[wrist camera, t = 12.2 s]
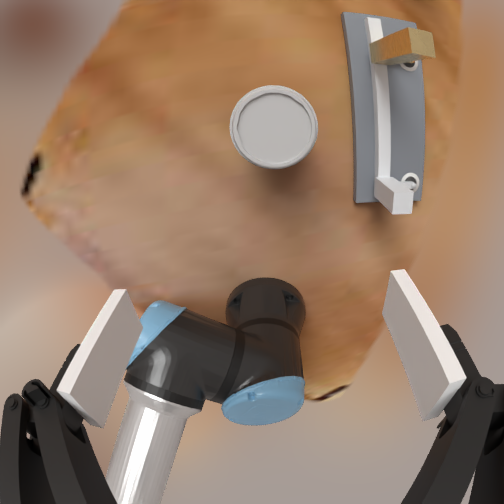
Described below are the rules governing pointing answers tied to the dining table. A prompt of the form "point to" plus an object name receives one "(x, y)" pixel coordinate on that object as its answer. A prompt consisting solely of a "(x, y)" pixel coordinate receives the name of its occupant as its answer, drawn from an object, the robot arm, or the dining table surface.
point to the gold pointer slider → (403, 47)
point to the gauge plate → (398, 109)
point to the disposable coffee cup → (273, 127)
